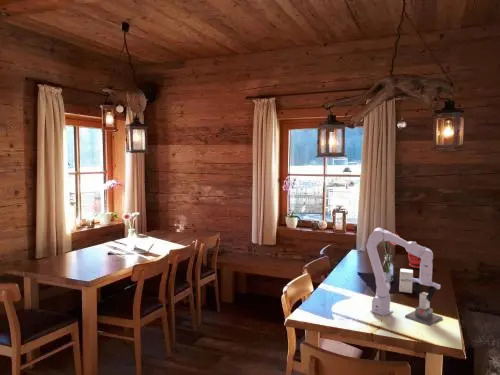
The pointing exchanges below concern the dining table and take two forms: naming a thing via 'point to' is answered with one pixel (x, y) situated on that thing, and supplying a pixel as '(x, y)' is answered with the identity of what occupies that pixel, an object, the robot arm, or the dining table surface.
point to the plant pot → (414, 260)
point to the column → (424, 301)
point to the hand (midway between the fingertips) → (424, 299)
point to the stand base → (424, 316)
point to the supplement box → (405, 280)
